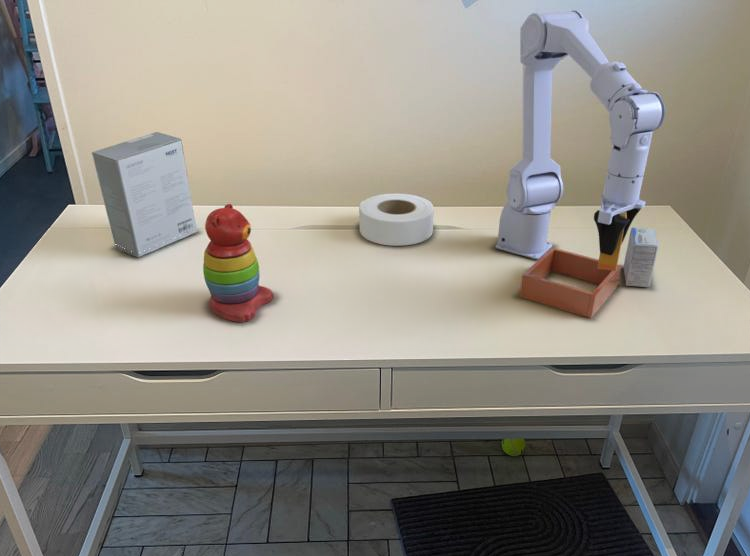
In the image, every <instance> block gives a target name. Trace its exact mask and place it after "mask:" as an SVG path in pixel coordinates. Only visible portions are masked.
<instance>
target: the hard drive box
mask: <svg viewBox="0 0 750 556" xmlns="http://www.w3.org/2000/svg"><path fill="white" fill-rule="evenodd" d="M91 156H92V159H93V164H94V168H95V172H96V176H97V180H98V184H99V187H100V193H101V196H102V200H103V204H104V208H105V211H106V215H107V216H106V217H107V220H108V223H109V228H110V232H111V236H112V240H113V244H114V248H115V250H119V251H122V252H124V253H126V254H128V255H130V256H133V257H136V258H140V257H142V256H145V255H148V254H151V253H152V252H155V251H157V250H159V249H161V248H164V247H165V246H168V245H171V244H172V243H175V242H177V241H179V240H183V239H185V238H187V237H189V236H191V235H194V234H196V233H197V232H198V229H197V223H196V216H195V212H194V206H193V201H192V200H193V199H192V196H191V188H190V182H189V177H188V175H189V174H188V171H187V165H186V159H185V158H186V157H185V153H184V147H183V143H182V139H181V138H180V137H176V136H174V135H173V136H172V135H170V134H167V133H164V132H163V133H162V132H160V131H157V132H152V133H148V134H145V135H142V136H139V137H136V138H132V139H129V140H126V141H122V142H120V143H116V144H114V145H110V146H107V147H104V148H100V149H98V150H95V151H92V152H91ZM192 230H193V231H192ZM190 231H191V232H190ZM185 233H186V234H185ZM180 235H181V236H180ZM175 237H176V238H175ZM173 238H174V239H173ZM163 242H164V243H163ZM115 244H117V245H115ZM118 245H119V246H118ZM156 245H157V246H156ZM120 246H121V247H120ZM122 247H123V248H122ZM124 248H125V249H124ZM149 248H150V249H149ZM144 250H145V251H144ZM131 251H132V252H131ZM139 252H140V253H139Z"/></svg>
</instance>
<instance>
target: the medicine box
mask: <svg viewBox="0 0 750 556" xmlns="http://www.w3.org/2000/svg"><path fill="white" fill-rule="evenodd" d="M628 237H629V238H628V243H627V246H626V247H627V248H626V252H625V257H624V262H623V273H624V280H625V286H628V287H637V288H647V289H648V288H650V286H651V282H652V277H653V273H654V269H655V264H656V261H657V256H658V255H657V254H658V250H659V243H658V239H657V234H656V230H655V229H654V228H647V227H631V228H630V233H629V236H628Z"/></svg>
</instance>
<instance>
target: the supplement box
mask: <svg viewBox="0 0 750 556" xmlns="http://www.w3.org/2000/svg"><path fill="white" fill-rule="evenodd" d="M619 215H621V216H620V217H621V218H625V219H627V211H625V212H622V213H620V214H619ZM623 232H624V229H623V231H622V233H621V235H620V238H619V241H618V243H617V246H616V249H615V251H614V253H613V254H612V255H607V254H603V253H600V252H599V257H598V260H599V261H598V266H597V268H598V269H603V270H611V271H616V270H617V265H619V264H618V263H619V259H620V254H621V249H622V248H621V247H622V244H623V243H622V238H623ZM621 243H622V244H621Z"/></svg>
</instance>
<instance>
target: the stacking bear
mask: <svg viewBox="0 0 750 556" xmlns="http://www.w3.org/2000/svg"><path fill="white" fill-rule="evenodd" d="M204 227H205V233H206V236H207V237H208V239H209V242H208V244H207V245H206V248H205V250H204V252H203V253H204V254H203V264H202V269H203V270H202V272H203V279H204V282H205V285H206V288H207V290H208V291H209V294H210V295H211V296H210V298H209V308H210V310H211V311H212V312H213V313H214V314H216V315H217V316H218V317H221V318H222V319H225V320H229V321H232V322H237V323H245V322H249V321H251V320H253V319H254V318H255V317H256V311H257V309H259V307H261V306H263V305H266V304H269V303H271V302H272V301H273V300H274V297H275V296H274V293H273V291H272V290H271V289H270V288H268V287H266V286H262V285H260V264H259V261H258V258H257V255H256V252H255V250H254V248H253V245H252V243H251V241H250V240H249V237H250V235H251V232H252V226H251V223H250V221H249V220H248V219H247V217H245V215H244V214H242V212H241V211H239V210H238V209H236V208H234V206H233V205H232V203H227V204H225V205H224V207H220V208H216V209H214V210H213V211H211V212H210V213H209V214H208V216H207V217H206V219H205V223H204Z"/></svg>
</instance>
